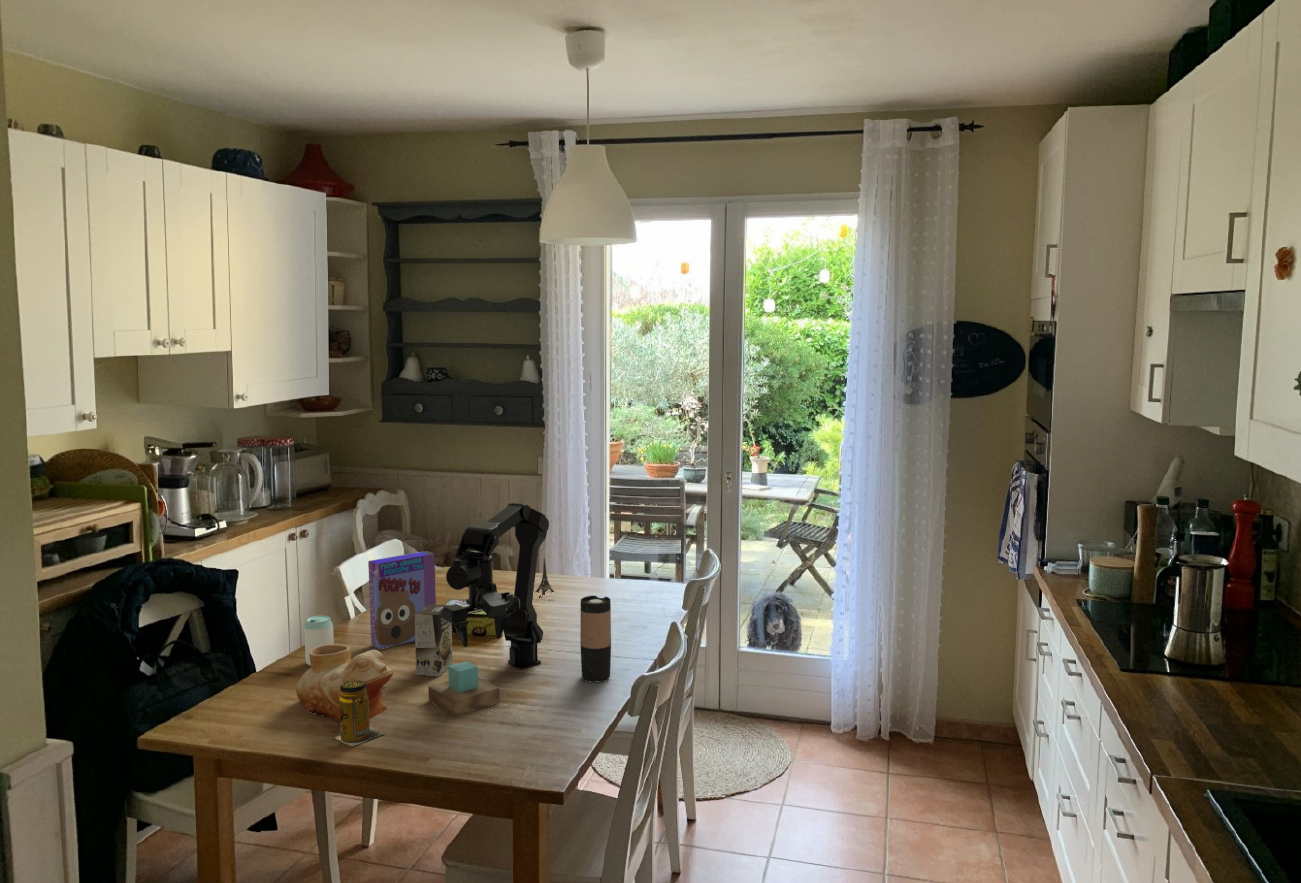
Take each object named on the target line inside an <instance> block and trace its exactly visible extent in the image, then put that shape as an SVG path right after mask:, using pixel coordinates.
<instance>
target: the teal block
mask: <svg viewBox="0 0 1301 883" xmlns="http://www.w3.org/2000/svg"><path fill="white" fill-rule="evenodd" d="M447 670H448V681H449V687H451V688H452V689H454V690H456V691H457V692H459V693H460V692H464V691H467V690H471V689H475V688H478V677H479V667H478V666H477V665H476V664H473V663H472V662H470V661H469V660H467V661H463V662H458V663H455V664H452V665H450V666H448V669H447Z"/></svg>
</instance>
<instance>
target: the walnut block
mask: <svg viewBox="0 0 1301 883" xmlns="http://www.w3.org/2000/svg"><path fill="white" fill-rule="evenodd" d="M500 689H501V688H500V687H499V686H498V685H495V684H494V683H492V682H489V681H488V680H486V679H483V678H481V677H480V676H478V688H475V689H471V690H467V691H464V692H460V693H459V692H457V691H456V690H454V689H452V688H451V687H449V680H445V681H442V682H439V683H435V684H432V685H428V689H427V690H428V701H429V700H430V701H431V703H432V702H433V703H432V704H433V705H435V704H436V705H435V706H437V707H439V708H441V709H442V710H444V711H446V712H447V711H448V712H447V713H449V714H451V715H452V716H454V717H456V716H460V715H463V714H466V712H467V713H470V712H473V711H476V710H479V708H480V709H483V708H486V706H487V707H489V706H488V705H490V706H492V705H491V704H493V705H496V704H495V703H497V704H499V703H498V702H500V703H501V690H500ZM430 701H429V702H430ZM472 710H473V711H472ZM469 711H470V712H469ZM462 713H463V714H462Z"/></svg>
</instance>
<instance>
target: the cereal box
mask: <svg viewBox="0 0 1301 883" xmlns="http://www.w3.org/2000/svg"><path fill="white" fill-rule="evenodd" d="M367 564H368V587H369V588H368V590H369V618H370V621H369V622H370V644H371V645H373V646H374V647H373V646H372V647H373V648H375V647H376V648H375V649H377V648H378V649H381V650H383V649H382V648H385V649H387V648H386V647H389V648H392V647H391V646H394V647H396V646H395V645H398V646H401V645H400V644H402V645H406V644H409V643H415V613H417V612H418V611H420V610H421V609H423V608H424V607H426V606H427V605H429V604H432V605H437V599H436V597H437V596H436V595H437V594H436V562H435V553H433V552H432V551H428V550H425V551H424V550H423V551H418V552H411V553H407V554H401V555H395V556H390V557H383V558H378V559H372V560H368V562H367ZM378 649H377V650H378Z"/></svg>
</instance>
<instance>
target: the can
mask: <svg viewBox="0 0 1301 883" xmlns="http://www.w3.org/2000/svg"><path fill="white" fill-rule="evenodd" d="M303 630H304V646H305V647H304V649H305V650H304V652H305V663H306V665H308V666H309V667H311V663H310V657H309V653H310V650H311V649H313V648H315V647H318V646H321V645H327V644H335V643H334V642H335V641H334V639H335V638H334V623H333V621H332V620H331V617H330V616H327V615H314V616H310V617H308V618H307V619H306V623H304V625H303Z"/></svg>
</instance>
